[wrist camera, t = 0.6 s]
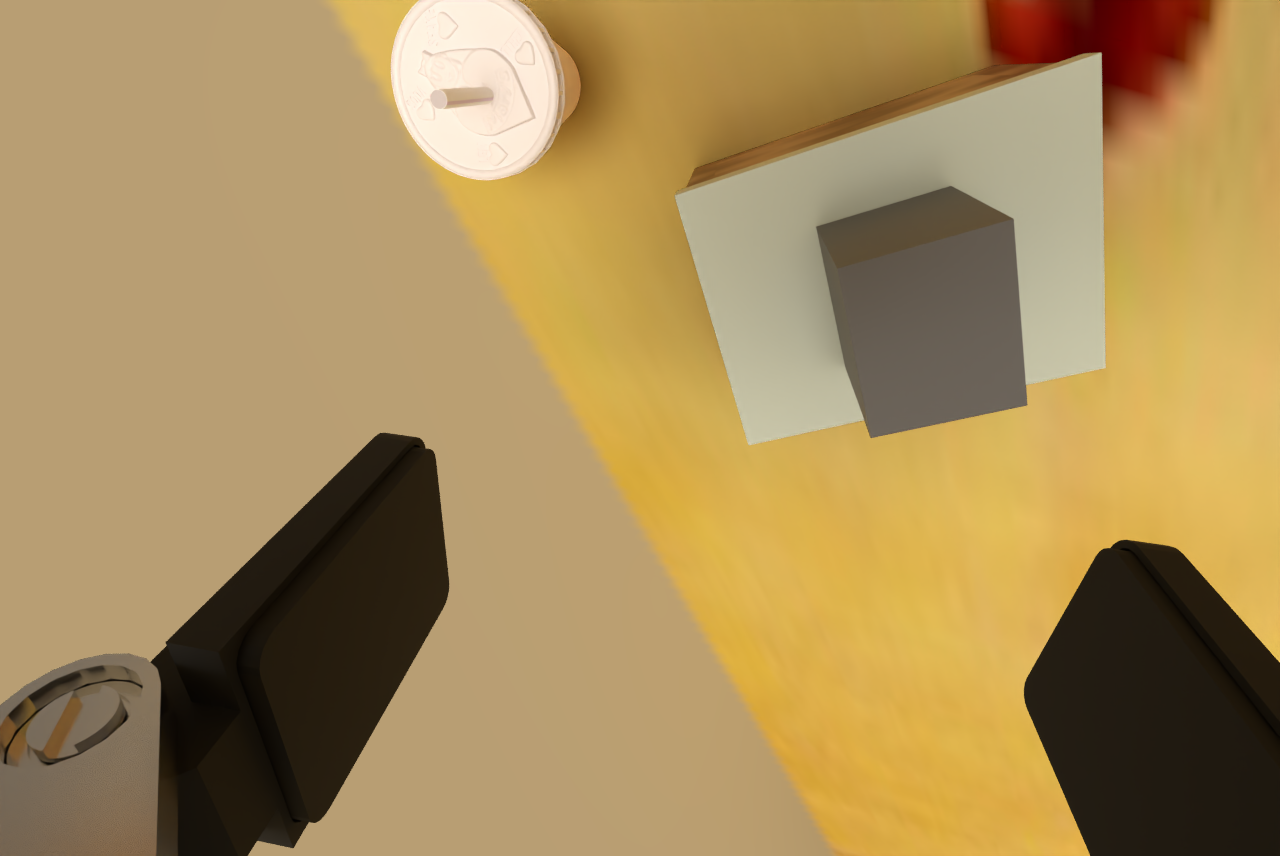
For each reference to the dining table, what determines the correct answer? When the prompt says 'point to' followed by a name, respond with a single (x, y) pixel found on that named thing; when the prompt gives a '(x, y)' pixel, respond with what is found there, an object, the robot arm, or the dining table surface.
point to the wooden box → (862, 119)
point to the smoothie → (481, 85)
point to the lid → (912, 261)
